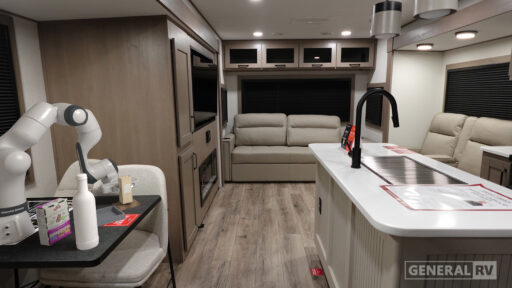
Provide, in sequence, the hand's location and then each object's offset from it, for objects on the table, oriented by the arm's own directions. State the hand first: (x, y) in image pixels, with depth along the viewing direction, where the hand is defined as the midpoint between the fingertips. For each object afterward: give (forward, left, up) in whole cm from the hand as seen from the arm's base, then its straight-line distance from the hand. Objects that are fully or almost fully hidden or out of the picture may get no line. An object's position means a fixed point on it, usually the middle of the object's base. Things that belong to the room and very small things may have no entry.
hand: (125, 188), depth 157 cm
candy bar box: (-36, -16, -10) cm, 41 cm away
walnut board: (0, +1, -10) cm, 10 cm away
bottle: (-28, -31, -10) cm, 43 cm away
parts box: (0, +1, -7) cm, 8 cm away
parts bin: (-15, -9, -10) cm, 20 cm away
